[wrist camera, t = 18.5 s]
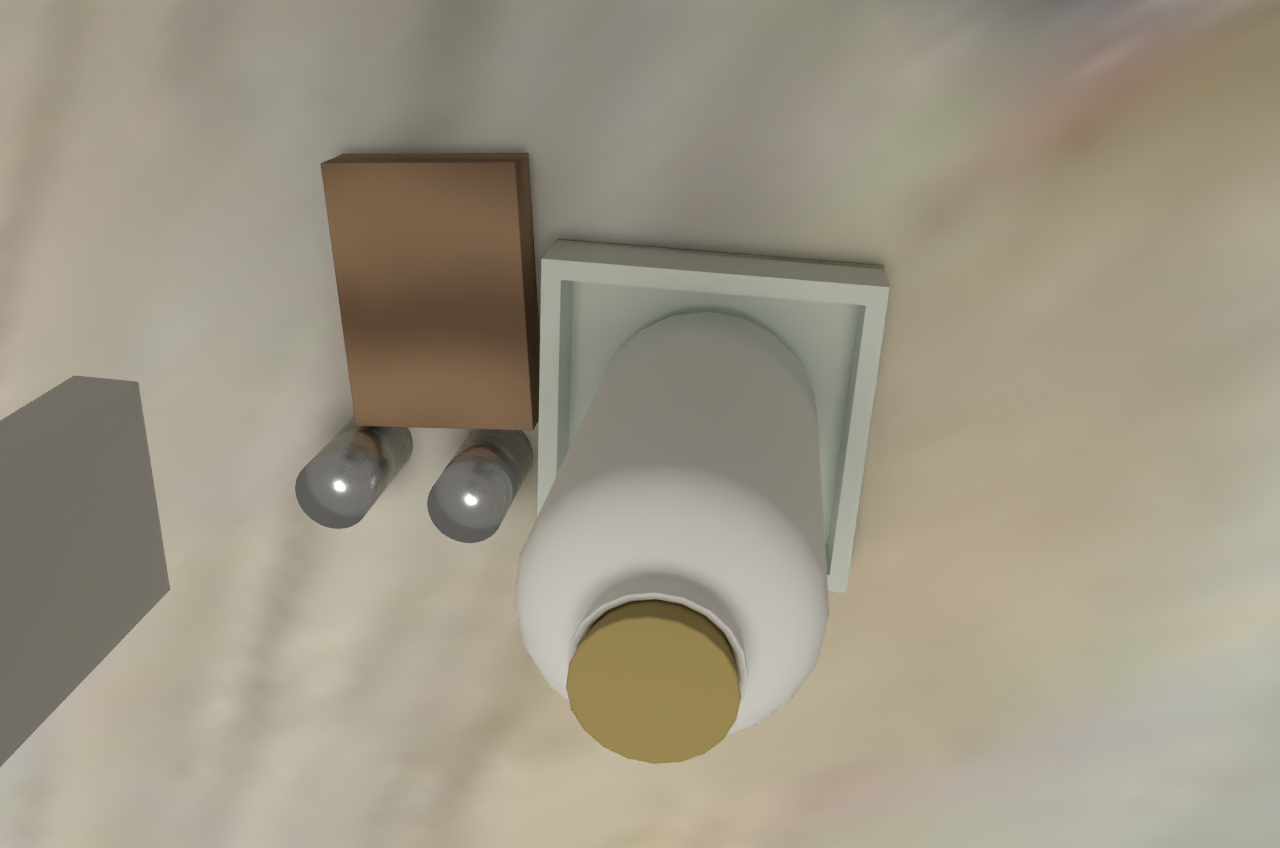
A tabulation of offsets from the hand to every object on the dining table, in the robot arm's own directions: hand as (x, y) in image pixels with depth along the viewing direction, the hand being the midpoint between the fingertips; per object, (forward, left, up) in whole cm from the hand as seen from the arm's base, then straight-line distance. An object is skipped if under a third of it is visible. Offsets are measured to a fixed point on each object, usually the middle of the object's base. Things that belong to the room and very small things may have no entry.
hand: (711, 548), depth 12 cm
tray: (+10, -1, -29) cm, 31 cm away
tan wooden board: (+6, -12, -29) cm, 32 cm away
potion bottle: (+10, -1, -29) cm, 30 cm away
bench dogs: (+13, -12, -29) cm, 34 cm away
